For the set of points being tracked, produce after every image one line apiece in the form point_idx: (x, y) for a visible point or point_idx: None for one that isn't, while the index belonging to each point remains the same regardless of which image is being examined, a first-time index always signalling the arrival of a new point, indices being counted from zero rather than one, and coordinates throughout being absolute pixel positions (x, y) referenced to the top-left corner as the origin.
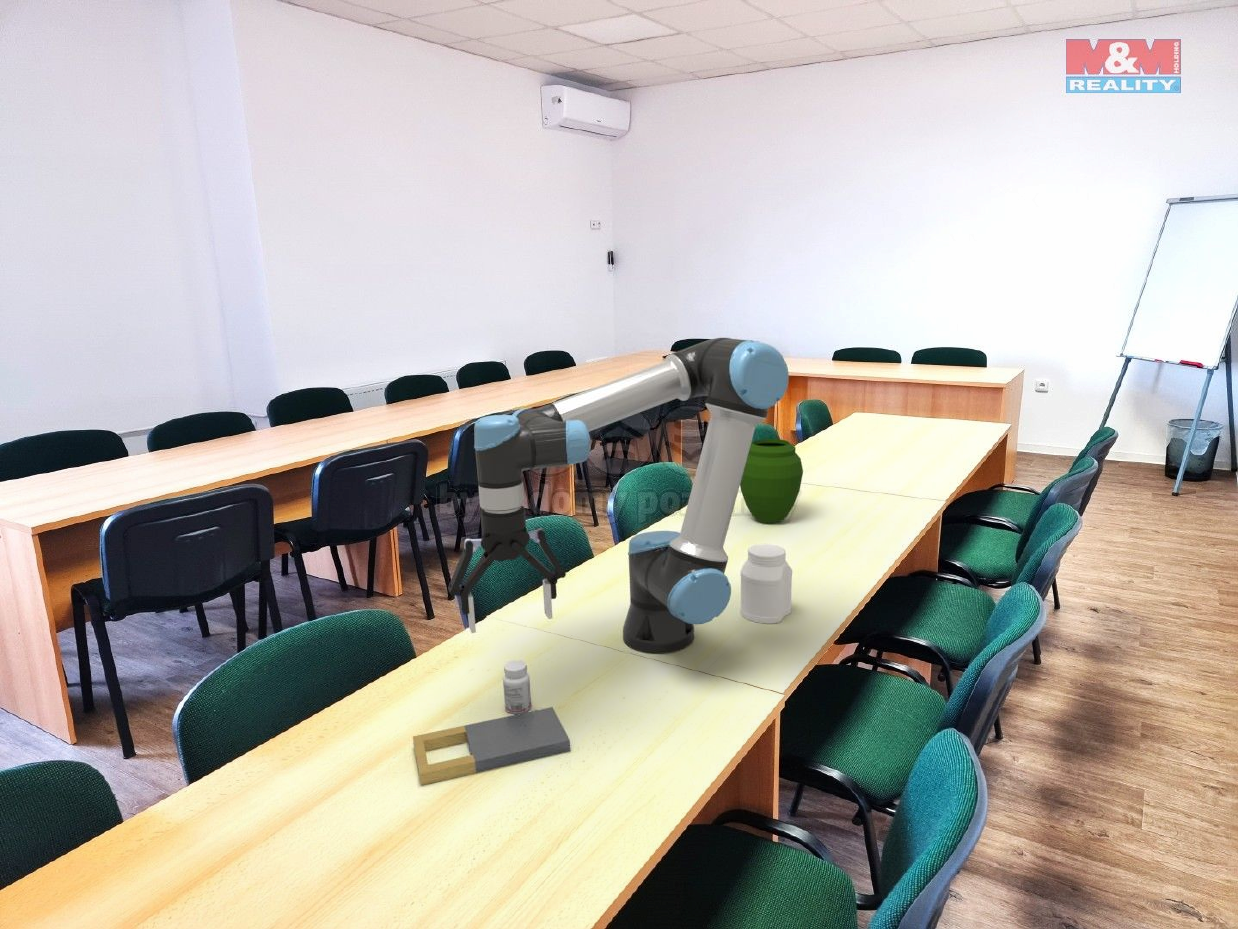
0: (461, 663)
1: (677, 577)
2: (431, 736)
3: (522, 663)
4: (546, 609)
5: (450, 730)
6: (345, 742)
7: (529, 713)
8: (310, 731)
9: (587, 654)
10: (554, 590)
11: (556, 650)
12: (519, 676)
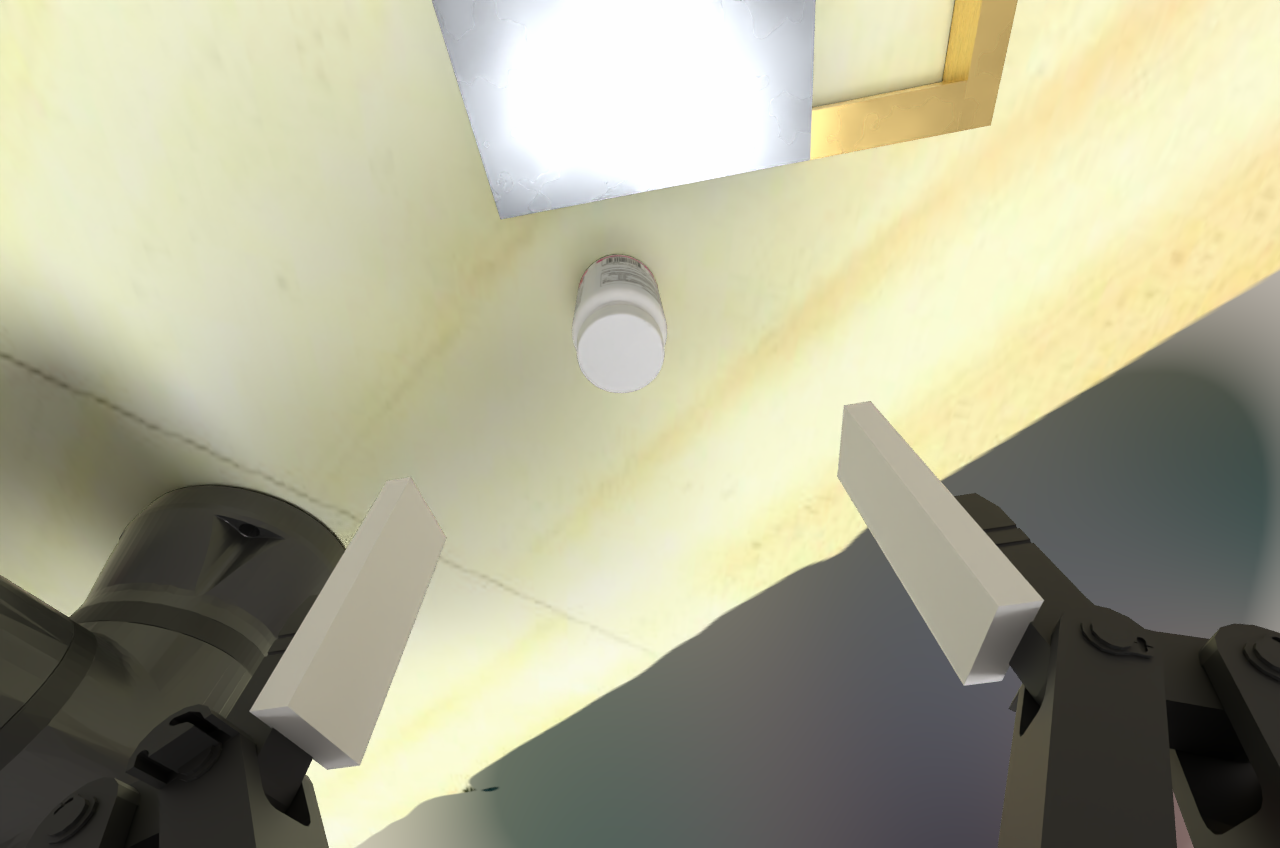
0: (748, 520)
1: None
2: (932, 106)
3: (592, 363)
4: (409, 537)
5: (860, 135)
6: (1135, 208)
7: (580, 191)
8: (1189, 291)
9: (435, 511)
10: (279, 655)
11: (517, 537)
12: (606, 306)
